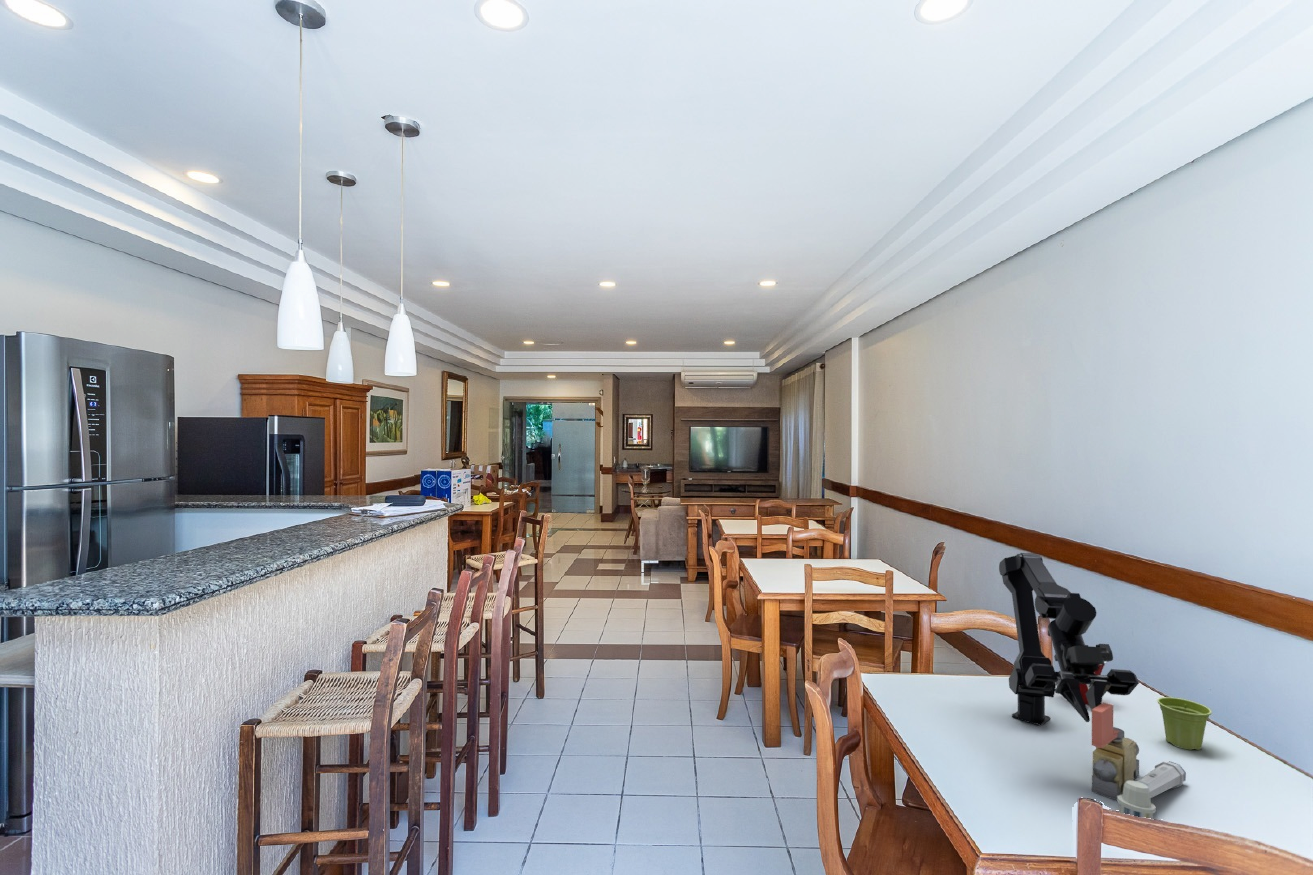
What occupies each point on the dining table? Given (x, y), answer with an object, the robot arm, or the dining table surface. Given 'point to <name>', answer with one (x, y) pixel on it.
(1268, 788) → the dining table surface
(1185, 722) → the plant pot
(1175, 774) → the white flashlight
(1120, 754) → the valve
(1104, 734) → the lever
